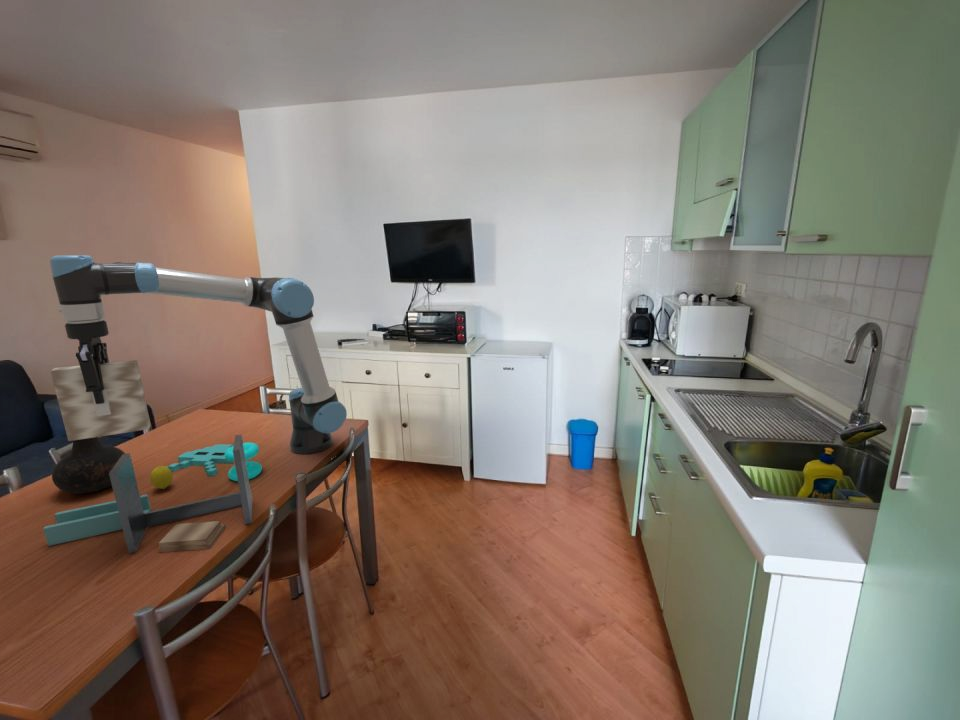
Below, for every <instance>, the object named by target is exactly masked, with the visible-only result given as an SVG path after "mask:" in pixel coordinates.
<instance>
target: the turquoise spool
mask: <svg viewBox="0 0 960 720" xmlns="http://www.w3.org/2000/svg"><path fill="white" fill-rule="evenodd" d="M233 447H234V445H233V446H232V447H230V448H228V449H227V450H226V452H225V458H226V459H227V460H229V461H232V463H235V461H234V455H233ZM243 447H244V453H245V459H246V465H247V472H248V478H249V480H251V479H254V478H256V477H257V476H259V475H260V474H261V472H262V471H263V466H262V465H261V463H260V462H257V461H255V460H250V459H253V458H254V457H256V456H257V455H258V453H259V452H260V447H259V445H258V444H257V443H254V442H243ZM227 477H228V478H229V479H230V480H232V481H234V482H238V479H237V473H236V467H235V464H234V465H233V466H232V467H230V469H229V470H228V472H227Z"/></svg>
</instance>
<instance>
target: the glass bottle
mask: <svg viewBox="0 0 960 720" xmlns="http://www.w3.org/2000/svg"><path fill="white" fill-rule="evenodd" d="M123 454H126V452H124V450H122V449H121V448H119V447H116V446H113V445H104V444H103V443H102V442H101V440H100V438H99V437H93V438H86V439H80V440H73V441H72V448H71V451H70V452H69V453H68V454H67V455H66V456H64V457H62V458H61V459H60V460H59V461H58V462H57V463H55V466H54V468H53V469H52V472H51V479H52V483H53V484H54V485H55V487H56V488H57V489H59V490H60V491H63V492H66V493H68V494H73V495H82V494H83V495H84V494H91V493H95V492H99V491H102V490H105V489H107V488H109V487H112V484H111V480H110V476H109V473H110V471H111V470H112V468H113V467H114V466H115V464H116V463H117V461H118V460H119V459H120V457H121V456H122V455H123Z"/></svg>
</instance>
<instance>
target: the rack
mask: <svg viewBox="0 0 960 720" xmlns="http://www.w3.org/2000/svg"><path fill="white" fill-rule="evenodd" d="M233 441H234V442H233V446H234V447H233V455H234V461H235V462H234V465H235V467H236V473H237V479H238V481H237V484H238V489H239V491H238V492H234V493H233V492H232V493H229V494H224V495H219V496H215V497H210V498H205V499H201V500H196V501H192V502H187V503H182V504H177V505H173V506H169V507H164V508H159V509H154V510H151V511H150V512H145V513H144V512H143V507H142V503H141V499H140V496H141V495H140V491H139V486H138V482H137V479H136V474H135V470H134V466H133V465H134V464H133V461H132V456H131V453H130V452H129V453H125V454H123V455H122V456H121V457H120V459H119V460H118V461H117V463H116V464H115V466H114V467H113V468H112V470H111V471H110V473H109V476H110V480H111V484H112V486H111V487H112V493H113V495H114V499H115V500H114V501H116V504H117V508H118V512H119V516H120V520H121V524H122V528H123V529H122V530H123V531H122V532H123V535H124V539H125V544H126V547H127V552H128V554H133V553H137V552H138V550H139V547H140V545H141V542H142V540H143V537H144V536H145V534H146V531H147V529H148V528H151V527H155V526H159V525H160V526H161V525H164V524H168V523H172V522H176V521H182V520H185V519H189V518H190V519H191V518H193V517H194V518H195V517H198V516H203V515H207V514H212V513H216V512H220V511H223V510H224V511H225V510H228V509H233V508H237V507H241V508H242V513H243V520H244V525H245V526H246V525H251V524H252V522H253V521H252V520H253V519H252V518H253V503H254V501H253V495H252V490H251V485H250V479H249V478H248V472H247V465H246V461H247V460H246V459H245V453H244V447H243V443H244V441H243V434H236V435H235V436H234V440H233Z"/></svg>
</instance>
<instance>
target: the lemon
mask: <svg viewBox="0 0 960 720" xmlns="http://www.w3.org/2000/svg"><path fill="white" fill-rule="evenodd" d="M172 472H173V471H171V470H170V469H169V468H168V467H165V465H158V466H156V467H155V468H154V469H152V471H151V473H150V477H149V478H150V483H151V485H152V486H153V487H154V488H156V489H162V490H165V489H166V488H167V487H169V486H170V484H171V483H172V482H173V473H172Z"/></svg>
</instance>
